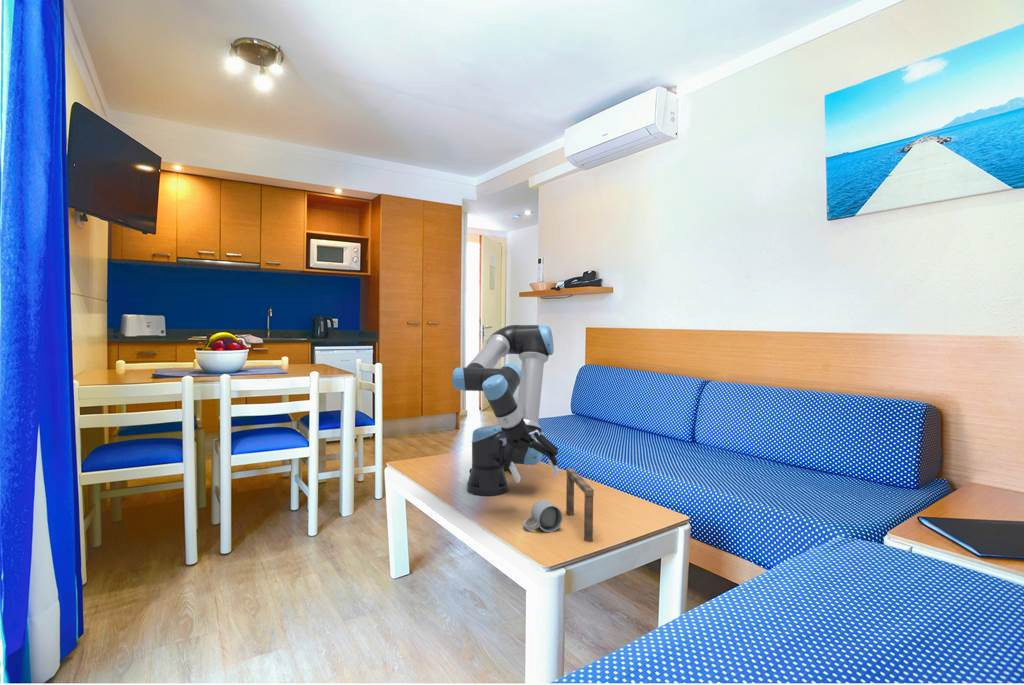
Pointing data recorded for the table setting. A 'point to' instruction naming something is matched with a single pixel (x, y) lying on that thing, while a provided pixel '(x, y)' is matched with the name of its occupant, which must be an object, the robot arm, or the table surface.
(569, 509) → the walnut gate
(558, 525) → the ceramic mug
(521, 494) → the table surface
